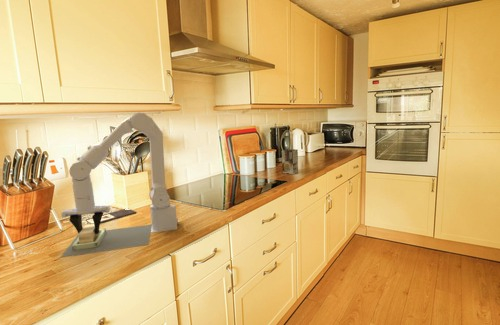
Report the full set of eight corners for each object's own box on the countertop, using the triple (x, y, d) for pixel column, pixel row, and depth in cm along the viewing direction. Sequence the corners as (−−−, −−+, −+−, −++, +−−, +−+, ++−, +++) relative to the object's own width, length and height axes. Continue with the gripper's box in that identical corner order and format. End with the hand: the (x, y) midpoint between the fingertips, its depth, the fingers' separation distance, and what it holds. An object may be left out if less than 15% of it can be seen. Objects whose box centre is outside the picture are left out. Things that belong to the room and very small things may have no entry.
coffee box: (298, 172, 201) (298, 149, 198) (293, 174, 196) (292, 150, 194) (287, 171, 207) (286, 148, 204) (282, 173, 202) (281, 149, 200)
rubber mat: (152, 225, 116) (152, 224, 115) (148, 246, 97) (148, 244, 97) (79, 235, 109) (78, 233, 109) (60, 258, 91) (60, 257, 91)
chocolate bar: (136, 211, 131) (93, 224, 118) (136, 213, 131) (94, 226, 119) (127, 208, 137) (85, 219, 124) (127, 210, 138) (86, 221, 125)
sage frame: (106, 232, 109) (105, 228, 109) (97, 246, 97) (97, 242, 97) (83, 235, 108) (83, 231, 107) (72, 250, 96) (71, 246, 95)
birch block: (93, 245, 99) (91, 232, 98) (80, 247, 98) (78, 234, 97) (99, 235, 107) (98, 223, 106) (87, 236, 106) (86, 224, 106)
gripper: (109, 191, 105) (114, 227, 108) (64, 195, 102) (70, 232, 104) (105, 196, 99) (110, 234, 101) (56, 201, 95) (62, 240, 97)
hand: (89, 234), depth 102 cm, fingers open, 4 cm apart
